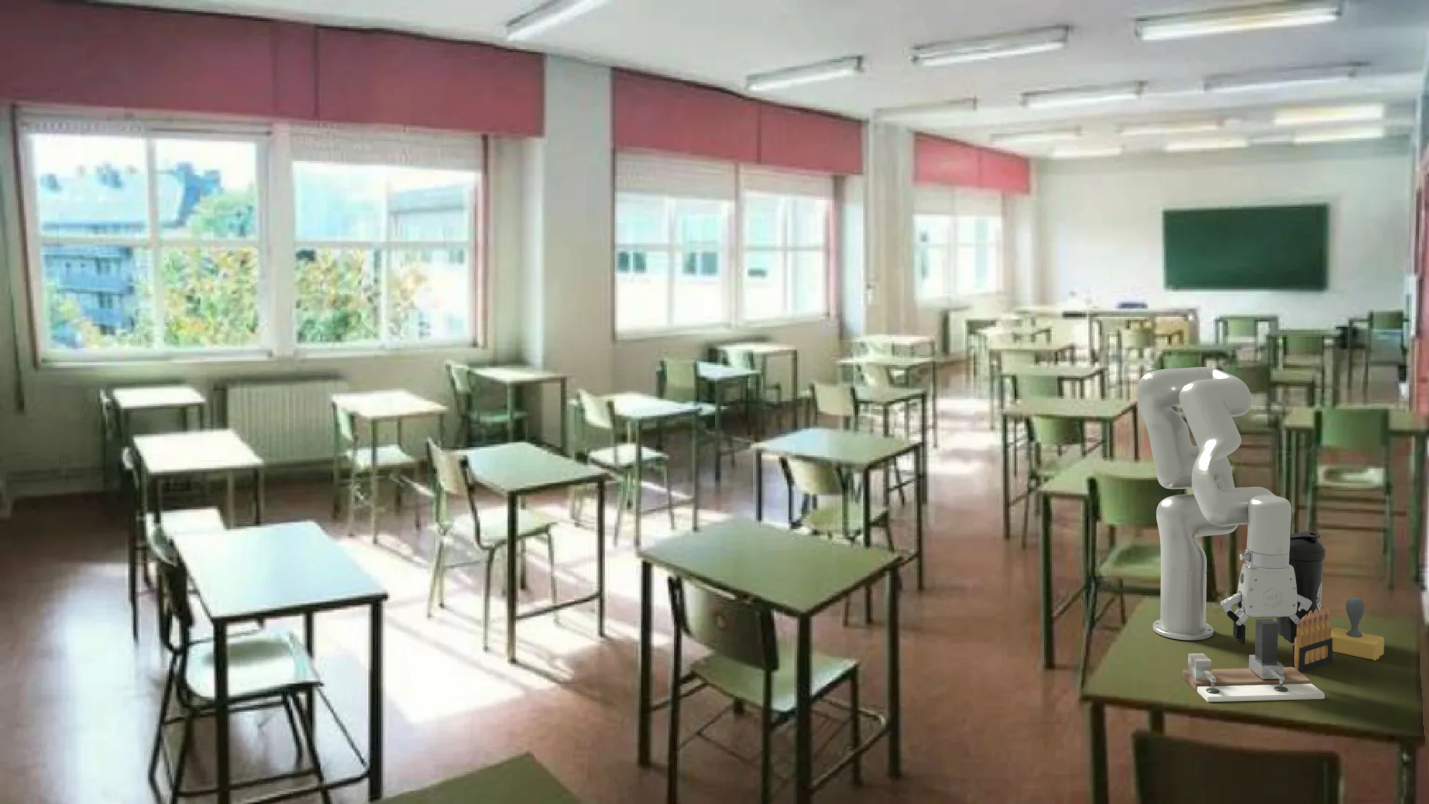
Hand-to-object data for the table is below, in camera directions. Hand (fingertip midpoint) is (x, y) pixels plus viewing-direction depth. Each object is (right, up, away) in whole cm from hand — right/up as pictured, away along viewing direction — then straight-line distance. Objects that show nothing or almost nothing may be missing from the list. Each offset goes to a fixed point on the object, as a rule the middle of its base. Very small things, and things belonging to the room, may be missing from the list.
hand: (1264, 641), depth 218 cm
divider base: (-4, -9, -1) cm, 9 cm away
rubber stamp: (+26, -6, +14) cm, 30 cm away
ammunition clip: (+14, -7, +8) cm, 17 cm away
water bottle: (+21, -4, +26) cm, 34 cm away
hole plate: (-4, -9, -6) cm, 12 cm away
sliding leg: (0, -7, -2) cm, 7 cm away
